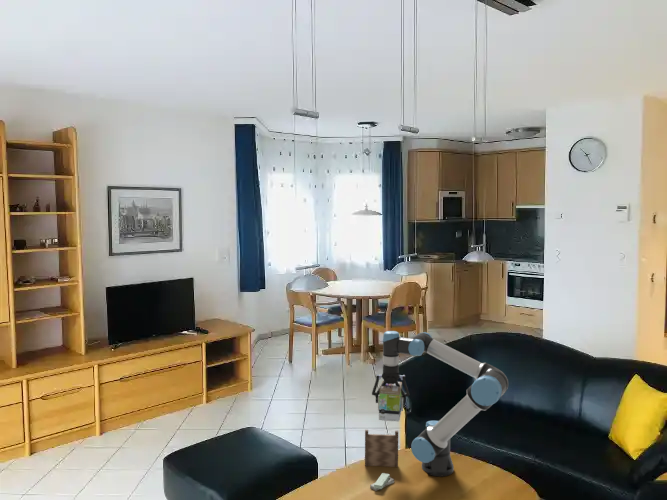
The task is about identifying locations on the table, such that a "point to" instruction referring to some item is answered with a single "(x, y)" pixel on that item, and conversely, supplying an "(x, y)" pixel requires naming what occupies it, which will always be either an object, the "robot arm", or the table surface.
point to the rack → (381, 449)
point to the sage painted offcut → (381, 481)
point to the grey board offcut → (384, 485)
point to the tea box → (390, 402)
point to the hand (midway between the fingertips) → (390, 409)
